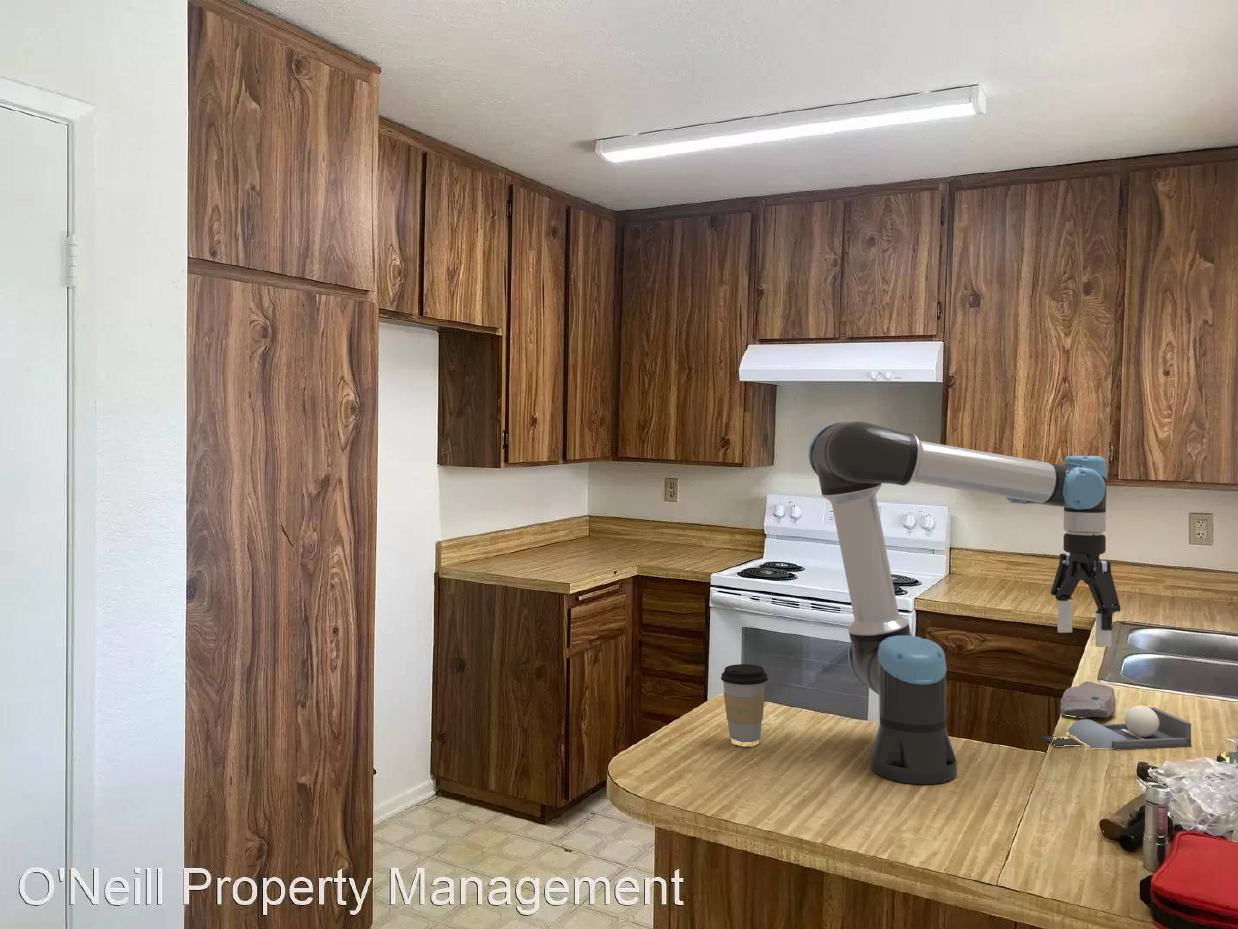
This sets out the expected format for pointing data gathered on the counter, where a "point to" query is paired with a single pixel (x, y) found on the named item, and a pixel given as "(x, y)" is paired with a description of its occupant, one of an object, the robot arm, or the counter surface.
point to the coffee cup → (744, 700)
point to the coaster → (1061, 741)
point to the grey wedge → (1094, 734)
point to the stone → (1088, 700)
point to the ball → (1142, 721)
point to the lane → (1167, 735)
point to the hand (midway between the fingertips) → (1083, 639)
